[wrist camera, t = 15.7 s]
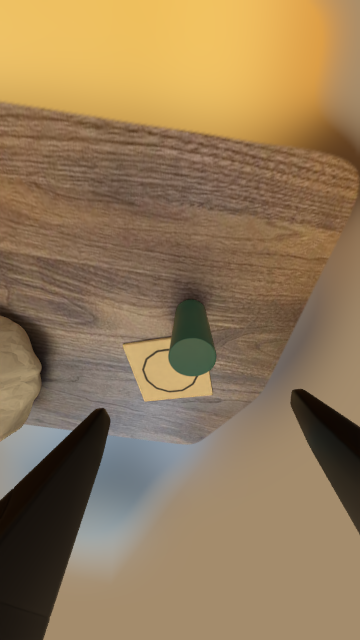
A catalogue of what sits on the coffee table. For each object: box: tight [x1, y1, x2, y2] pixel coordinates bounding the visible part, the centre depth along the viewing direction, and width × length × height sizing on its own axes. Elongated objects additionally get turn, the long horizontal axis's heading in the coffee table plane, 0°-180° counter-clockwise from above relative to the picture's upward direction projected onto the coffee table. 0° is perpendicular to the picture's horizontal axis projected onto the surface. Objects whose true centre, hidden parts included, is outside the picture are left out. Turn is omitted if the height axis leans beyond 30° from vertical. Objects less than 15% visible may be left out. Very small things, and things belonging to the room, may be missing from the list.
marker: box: [168, 299, 216, 376], centre depth 15 cm, size 3×3×8 cm
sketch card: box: [123, 337, 213, 401], centre depth 23 cm, size 10×10×1 cm
